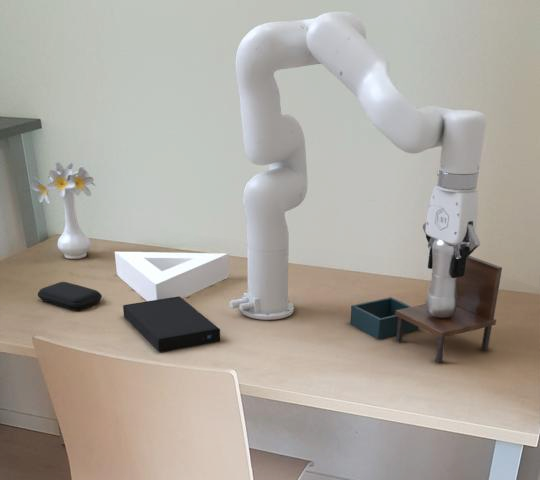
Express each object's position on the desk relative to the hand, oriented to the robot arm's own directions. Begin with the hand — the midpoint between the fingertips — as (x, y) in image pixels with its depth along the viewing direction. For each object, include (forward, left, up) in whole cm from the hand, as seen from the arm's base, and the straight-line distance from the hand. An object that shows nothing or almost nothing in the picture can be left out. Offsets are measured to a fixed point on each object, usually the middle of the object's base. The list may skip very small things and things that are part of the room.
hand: (445, 271), depth 162 cm
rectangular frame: (-2, +15, -17) cm, 22 cm away
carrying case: (-58, +67, -17) cm, 90 cm away
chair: (+2, 0, -17) cm, 17 cm away
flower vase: (-45, +102, -17) cm, 113 cm away
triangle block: (-35, +69, -17) cm, 79 cm away
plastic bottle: (0, 0, -10) cm, 10 cm away
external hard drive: (-45, +38, -17) cm, 62 cm away
